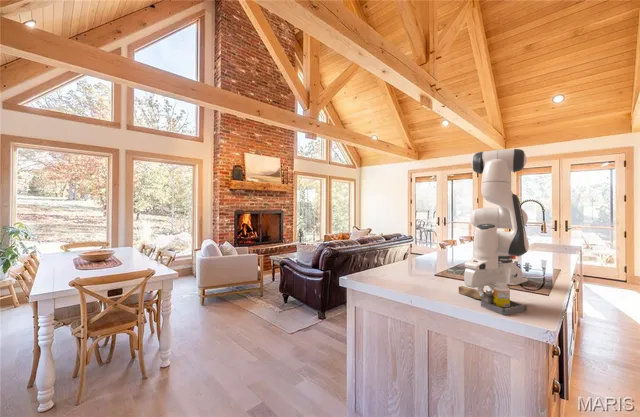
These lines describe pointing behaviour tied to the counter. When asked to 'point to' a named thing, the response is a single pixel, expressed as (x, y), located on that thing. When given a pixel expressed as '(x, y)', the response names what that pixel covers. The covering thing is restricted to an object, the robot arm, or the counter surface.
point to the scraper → (476, 294)
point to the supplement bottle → (501, 295)
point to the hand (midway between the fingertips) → (485, 295)
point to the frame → (514, 309)
